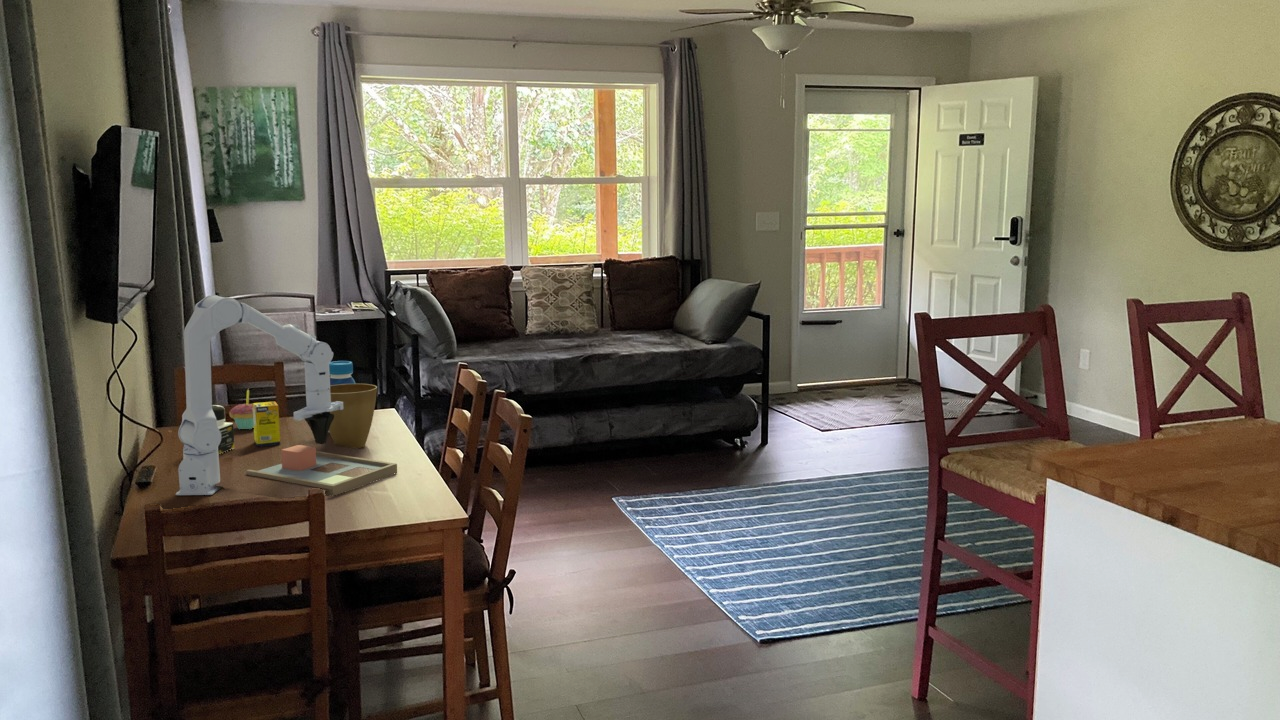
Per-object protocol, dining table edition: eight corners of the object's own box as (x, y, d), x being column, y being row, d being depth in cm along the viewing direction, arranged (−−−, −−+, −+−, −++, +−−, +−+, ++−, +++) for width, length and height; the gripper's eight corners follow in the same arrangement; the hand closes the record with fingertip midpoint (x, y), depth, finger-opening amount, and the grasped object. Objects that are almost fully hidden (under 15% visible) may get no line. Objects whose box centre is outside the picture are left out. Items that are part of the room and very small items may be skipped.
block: (282, 468, 229) (281, 449, 229) (299, 462, 234) (298, 444, 234) (299, 470, 227) (298, 452, 226) (316, 465, 232) (315, 447, 231)
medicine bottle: (218, 455, 246) (215, 409, 244) (193, 454, 248) (190, 408, 246) (235, 448, 253) (232, 404, 251) (211, 447, 254) (208, 403, 253)
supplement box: (280, 444, 258) (278, 404, 256) (257, 447, 255) (254, 407, 253) (277, 440, 263) (275, 400, 261) (254, 442, 260) (251, 402, 258)
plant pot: (390, 444, 259) (388, 386, 256) (347, 456, 246) (344, 395, 244) (353, 437, 266) (350, 380, 264) (309, 448, 254) (306, 389, 251)
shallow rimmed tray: (246, 480, 224) (246, 470, 224) (313, 459, 243) (313, 450, 242) (333, 496, 212) (333, 486, 212) (397, 473, 231) (396, 463, 231)
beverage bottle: (362, 428, 277) (359, 360, 274) (352, 435, 268) (349, 365, 265) (333, 428, 277) (330, 359, 274) (323, 435, 269) (319, 364, 266)
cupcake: (268, 427, 278) (266, 386, 276) (242, 432, 271) (240, 391, 269) (249, 423, 282) (247, 383, 280) (223, 428, 275) (221, 387, 273)
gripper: (307, 396, 226) (310, 451, 228) (351, 385, 239) (354, 438, 241) (286, 393, 229) (289, 448, 231) (330, 383, 242) (332, 435, 244)
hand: (320, 443), depth 236 cm, fingers closed
